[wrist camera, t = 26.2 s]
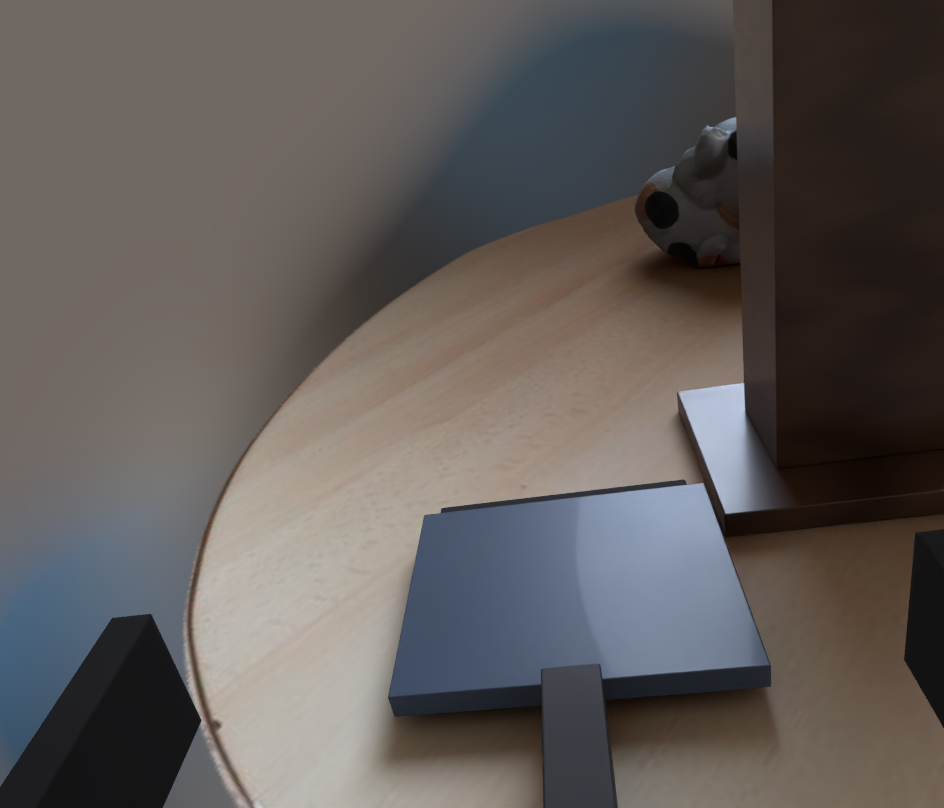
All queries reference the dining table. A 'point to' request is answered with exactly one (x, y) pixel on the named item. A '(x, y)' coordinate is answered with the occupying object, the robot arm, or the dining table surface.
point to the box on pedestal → (833, 270)
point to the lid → (575, 620)
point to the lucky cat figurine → (697, 201)
